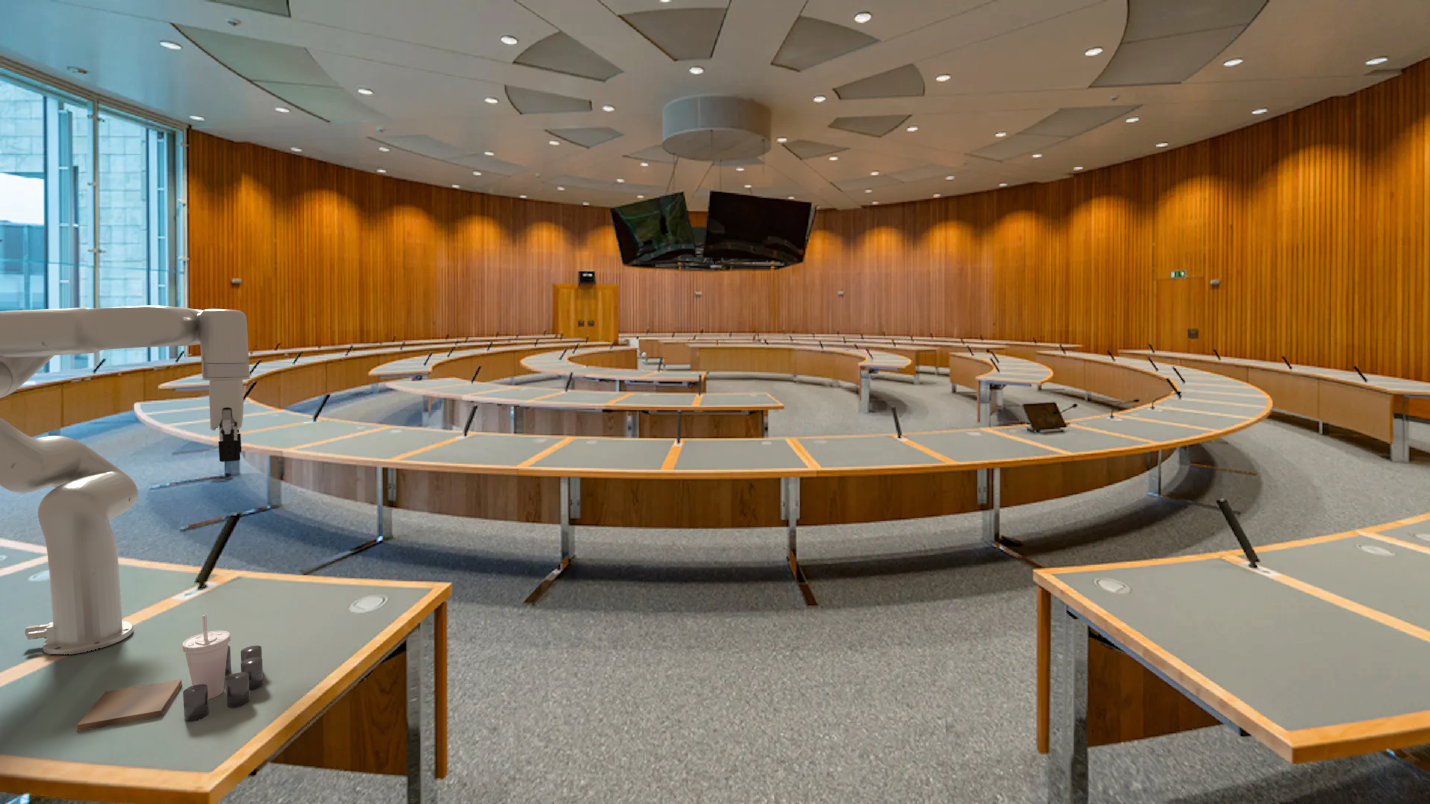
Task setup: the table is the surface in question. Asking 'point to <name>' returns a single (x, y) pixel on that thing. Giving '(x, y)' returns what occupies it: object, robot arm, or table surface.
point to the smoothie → (207, 658)
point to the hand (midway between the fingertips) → (231, 456)
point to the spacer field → (227, 685)
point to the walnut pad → (130, 705)
